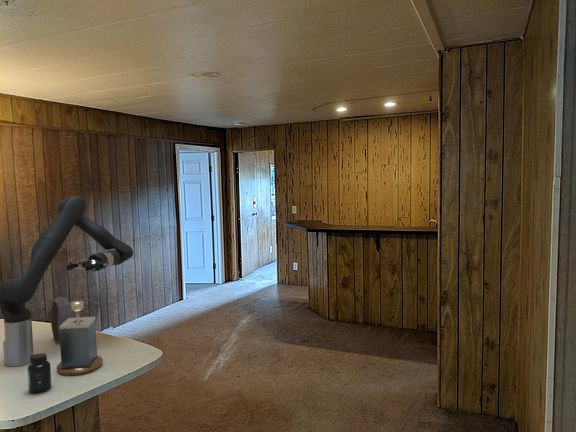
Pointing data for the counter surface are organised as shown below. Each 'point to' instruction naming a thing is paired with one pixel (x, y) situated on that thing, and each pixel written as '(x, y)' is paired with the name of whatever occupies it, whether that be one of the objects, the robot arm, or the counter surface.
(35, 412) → the counter surface
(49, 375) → the supplement bottle
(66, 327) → the square holed block
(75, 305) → the plunger
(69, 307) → the soft grey pack
